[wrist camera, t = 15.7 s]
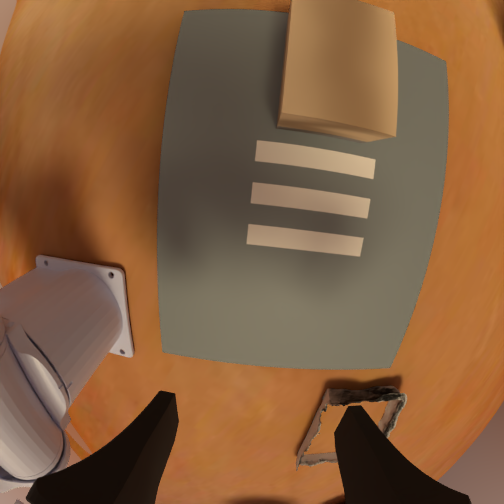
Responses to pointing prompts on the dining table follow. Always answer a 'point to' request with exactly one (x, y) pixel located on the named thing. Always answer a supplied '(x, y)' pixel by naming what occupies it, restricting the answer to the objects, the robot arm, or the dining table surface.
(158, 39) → the dining table surface
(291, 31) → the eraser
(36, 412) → the robot arm
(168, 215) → the slate board
